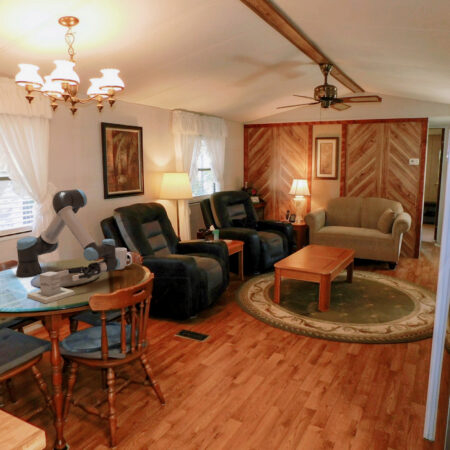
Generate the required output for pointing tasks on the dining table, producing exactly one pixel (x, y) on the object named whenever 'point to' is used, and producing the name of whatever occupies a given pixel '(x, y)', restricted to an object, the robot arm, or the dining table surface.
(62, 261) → the dining table surface
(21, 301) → the dining table surface
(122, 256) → the mug
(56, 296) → the hole board
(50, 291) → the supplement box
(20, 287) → the dining table surface
